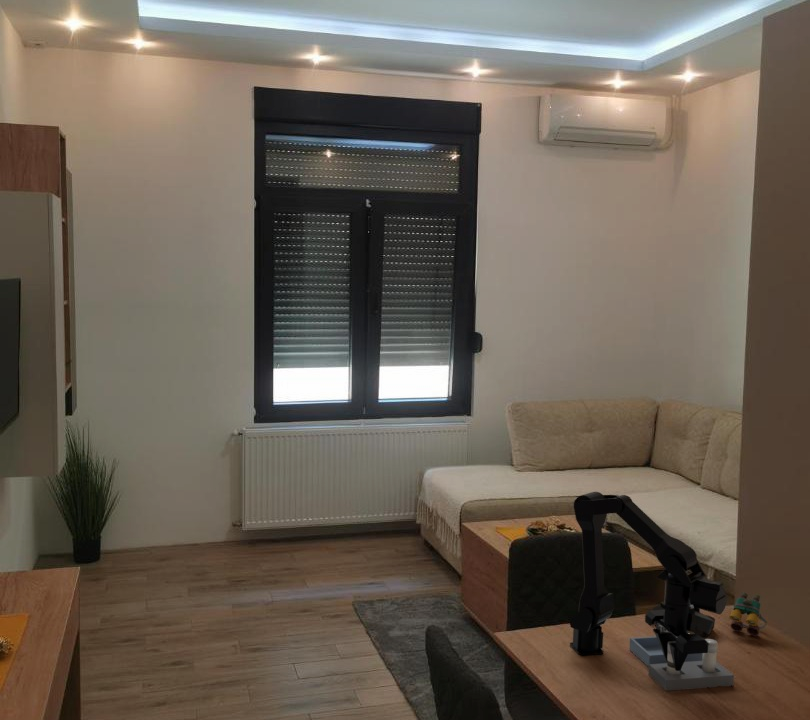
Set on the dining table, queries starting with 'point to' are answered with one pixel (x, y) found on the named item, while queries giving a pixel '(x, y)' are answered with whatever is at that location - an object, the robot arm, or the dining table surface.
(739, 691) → the dining table surface
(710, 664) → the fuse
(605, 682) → the dining table surface
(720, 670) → the fuse holder
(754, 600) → the binoculars
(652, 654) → the parts tray
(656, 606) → the black sponge
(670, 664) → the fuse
